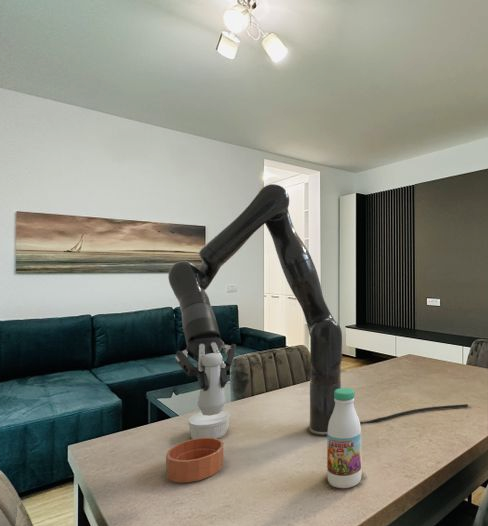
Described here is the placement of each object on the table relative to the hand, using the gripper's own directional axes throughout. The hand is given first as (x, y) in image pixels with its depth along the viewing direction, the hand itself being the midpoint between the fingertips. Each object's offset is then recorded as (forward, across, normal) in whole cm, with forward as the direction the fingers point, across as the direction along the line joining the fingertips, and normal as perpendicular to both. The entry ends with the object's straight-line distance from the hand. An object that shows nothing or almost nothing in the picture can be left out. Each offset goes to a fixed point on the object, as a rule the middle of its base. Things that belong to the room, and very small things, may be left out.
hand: (215, 386), depth 82 cm
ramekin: (-5, +7, +36) cm, 37 cm away
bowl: (+8, -1, +23) cm, 24 cm away
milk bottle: (+27, +24, +4) cm, 36 cm away
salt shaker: (+3, 0, +6) cm, 7 cm away
